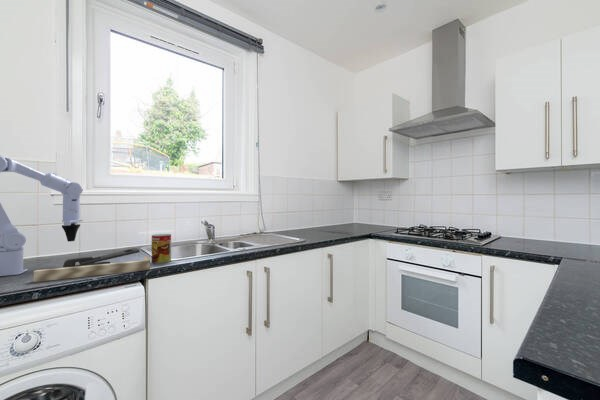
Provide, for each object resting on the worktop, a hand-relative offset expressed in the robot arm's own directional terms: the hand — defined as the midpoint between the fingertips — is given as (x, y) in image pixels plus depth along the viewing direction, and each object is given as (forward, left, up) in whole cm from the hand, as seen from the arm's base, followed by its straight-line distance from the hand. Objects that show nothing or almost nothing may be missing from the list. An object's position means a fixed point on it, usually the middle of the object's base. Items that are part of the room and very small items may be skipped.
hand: (71, 241), depth 119 cm
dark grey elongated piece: (+14, -17, -10) cm, 24 cm away
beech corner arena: (+13, -23, -10) cm, 28 cm away
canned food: (+35, -14, -10) cm, 39 cm away
